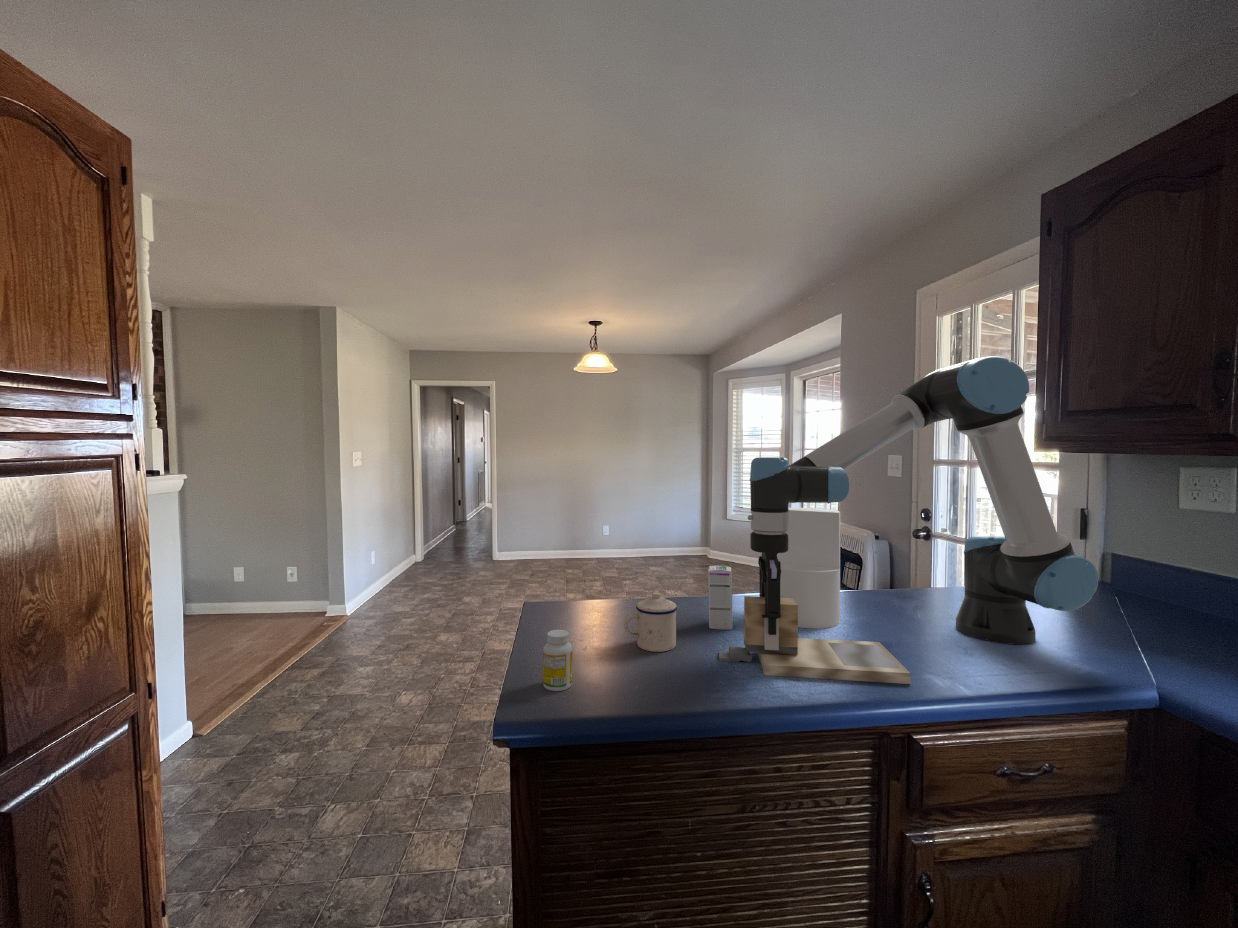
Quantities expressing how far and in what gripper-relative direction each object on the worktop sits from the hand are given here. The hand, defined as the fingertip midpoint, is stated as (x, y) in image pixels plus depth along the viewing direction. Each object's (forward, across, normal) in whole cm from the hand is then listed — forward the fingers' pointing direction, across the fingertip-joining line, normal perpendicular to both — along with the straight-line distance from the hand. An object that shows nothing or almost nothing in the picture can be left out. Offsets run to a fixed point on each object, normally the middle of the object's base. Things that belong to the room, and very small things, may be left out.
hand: (769, 643), depth 104 cm
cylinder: (+3, -30, +13) cm, 33 cm away
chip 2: (+3, 0, -6) cm, 7 cm away
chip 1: (+3, 0, -8) cm, 9 cm away
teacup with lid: (+3, -4, -25) cm, 26 cm away
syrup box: (+3, -20, -9) cm, 22 cm away
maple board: (+3, 0, +11) cm, 11 cm away
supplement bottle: (+3, +18, -40) cm, 44 cm away
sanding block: (+1, 0, 0) cm, 1 cm away
